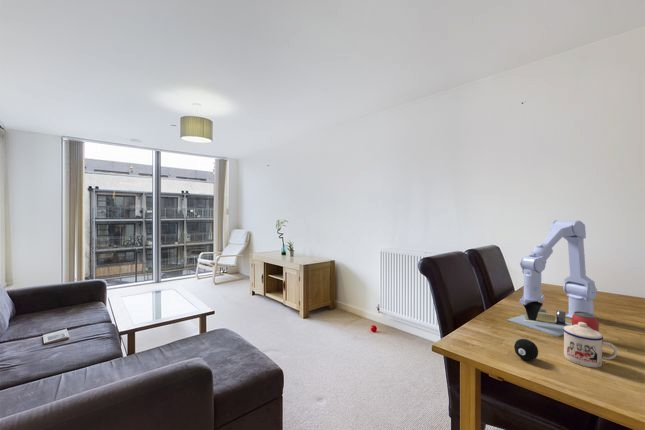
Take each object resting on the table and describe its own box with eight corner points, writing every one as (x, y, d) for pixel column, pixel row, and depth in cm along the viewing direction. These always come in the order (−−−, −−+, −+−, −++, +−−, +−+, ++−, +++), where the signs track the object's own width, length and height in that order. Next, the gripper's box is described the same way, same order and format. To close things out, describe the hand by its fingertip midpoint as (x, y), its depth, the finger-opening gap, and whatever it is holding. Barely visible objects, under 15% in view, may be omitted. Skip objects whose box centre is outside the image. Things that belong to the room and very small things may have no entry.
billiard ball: (541, 360, 87) (541, 341, 87) (533, 366, 83) (533, 346, 83) (519, 352, 92) (519, 334, 92) (510, 357, 88) (510, 338, 88)
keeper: (535, 313, 126) (535, 307, 126) (546, 316, 123) (546, 309, 123) (532, 314, 125) (533, 307, 125) (543, 317, 122) (543, 310, 122)
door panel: (530, 313, 128) (530, 312, 128) (581, 327, 112) (581, 326, 112) (507, 320, 119) (507, 319, 119) (558, 336, 103) (558, 335, 103)
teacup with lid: (562, 360, 86) (562, 323, 86) (563, 350, 93) (563, 315, 93) (618, 376, 78) (618, 334, 78) (616, 363, 85) (616, 325, 85)
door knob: (557, 321, 117) (557, 309, 117) (568, 324, 114) (568, 312, 114) (553, 323, 115) (553, 311, 116) (564, 326, 112) (564, 313, 112)
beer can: (604, 356, 90) (604, 318, 90) (580, 353, 91) (580, 316, 91) (589, 346, 96) (589, 311, 96) (566, 344, 97) (567, 310, 97)
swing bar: (553, 321, 117) (554, 310, 117) (555, 322, 115) (555, 312, 115) (524, 316, 122) (524, 306, 122) (525, 318, 120) (525, 308, 120)
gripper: (534, 290, 107) (533, 326, 107) (552, 286, 114) (552, 320, 114) (514, 286, 113) (514, 320, 113) (533, 282, 120) (533, 314, 120)
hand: (532, 319), depth 114 cm, fingers closed
